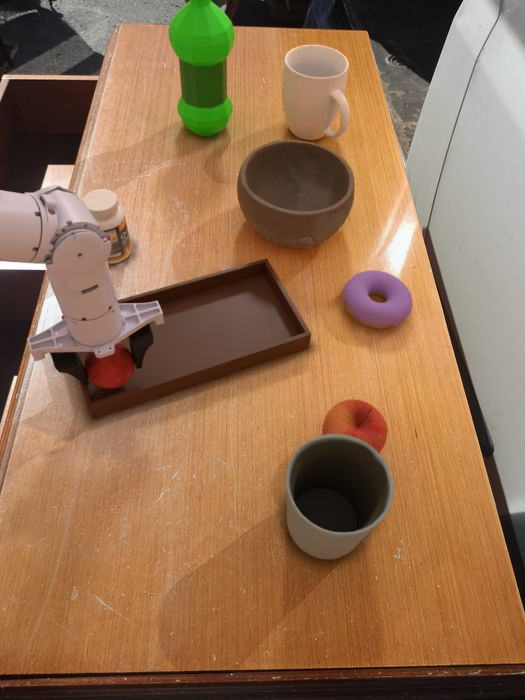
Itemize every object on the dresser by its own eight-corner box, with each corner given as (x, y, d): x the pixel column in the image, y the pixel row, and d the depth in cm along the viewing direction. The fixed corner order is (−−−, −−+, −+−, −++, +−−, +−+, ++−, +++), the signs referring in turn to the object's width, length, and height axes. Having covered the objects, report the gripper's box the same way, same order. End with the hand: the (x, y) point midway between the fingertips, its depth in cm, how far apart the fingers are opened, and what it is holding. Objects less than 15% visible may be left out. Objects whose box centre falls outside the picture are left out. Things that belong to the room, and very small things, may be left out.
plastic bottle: (214, 151, 99) (209, -1, 79) (166, 131, 102) (149, -21, 82) (244, 124, 104) (247, -25, 84) (198, 106, 107) (190, -44, 87)
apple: (305, 442, 68) (313, 411, 61) (348, 409, 70) (359, 375, 64) (348, 487, 65) (361, 459, 58) (390, 451, 67) (407, 420, 61)
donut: (421, 299, 81) (428, 281, 77) (390, 348, 78) (395, 332, 74) (361, 269, 84) (364, 250, 80) (329, 315, 81) (330, 298, 77)
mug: (363, 146, 102) (378, 77, 92) (316, 166, 98) (327, 97, 88) (312, 106, 109) (321, 38, 98) (267, 124, 105) (271, 54, 94)
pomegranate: (93, 405, 68) (79, 369, 62) (89, 367, 71) (74, 329, 65) (141, 395, 69) (131, 359, 63) (134, 358, 73) (125, 320, 66)
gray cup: (385, 519, 63) (414, 478, 53) (330, 590, 58) (351, 560, 48) (315, 462, 66) (330, 413, 56) (258, 524, 62) (263, 484, 52)
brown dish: (92, 420, 68) (87, 407, 66) (66, 329, 76) (61, 315, 73) (309, 347, 76) (311, 334, 73) (265, 272, 83) (266, 257, 81)
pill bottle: (136, 259, 84) (125, 208, 75) (98, 269, 82) (83, 217, 74) (127, 234, 87) (115, 182, 78) (90, 243, 85) (74, 191, 77)
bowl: (330, 276, 83) (341, 226, 75) (219, 245, 86) (218, 193, 78) (357, 204, 93) (369, 152, 85) (256, 178, 96) (258, 126, 87)
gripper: (21, 349, 53) (58, 416, 65) (167, 307, 57) (177, 377, 68) (10, 297, 57) (46, 369, 68) (147, 260, 61) (160, 334, 72)
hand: (111, 370), depth 69 cm, fingers closed on pomegranate, 6 cm apart
